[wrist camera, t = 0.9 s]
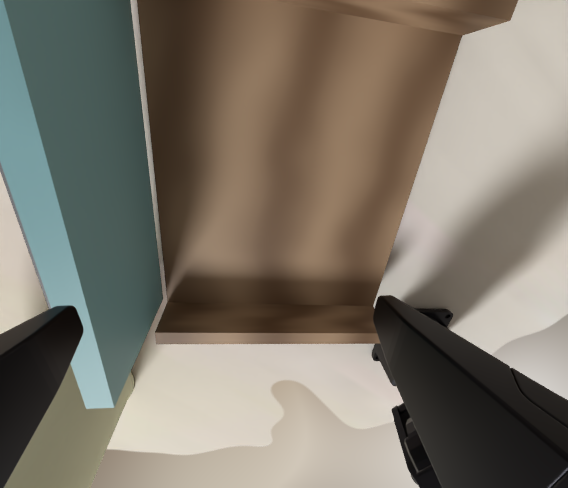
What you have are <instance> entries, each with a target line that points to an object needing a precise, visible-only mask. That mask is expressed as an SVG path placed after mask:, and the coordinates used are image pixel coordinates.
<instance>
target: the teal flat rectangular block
mask: <svg viewBox="0 0 568 488" xmlns="http://www.w3.org/2000/svg"><path fill="white" fill-rule="evenodd" d="M0 171H1V174H2V177H3V180H4V183H5V186H6V188H7V191H8V194H9V197H10V200H11V203H12V205H13V208H14V211H15V214H16V217H17V220H18V222H19V225H20V228H21V231H22V234H23V237H24V239H25V242H26V245H27V248H28V251H29V254H30V256H31V259H32V262H33V265H34V268H35V271H36V273H37V276H38V279H39V282H40V285H41V288H42V290H43V293H44V296H45V299H46V302H47V305H48V307H49V309H51V308H53V307H55V306H62V305H72V306H74V307H75V308H76V309H77V312H78V314H79V317H80V319H81V322H82V325H83V329H84V331H83V336H82V338H81V340H80V343H79V345H78V347H77V350H76V352H75V354H74V356H73V359H72V361H71V363H70V364H71V366H72V369H73V372H74V375H75V378H76V381H77V384H78V387H79V389H80V392H81V395H82V398H83V401H84V404H85V407H86V409H95V408H114V407H115V405H116V403H117V401H118V398H119V396H120V394H121V392H122V389H123V387H124V385H125V383H126V381H127V378H128V376H129V374H130V372H131V369H132V367H133V365H134V363H135V360H136V358H137V356H138V354H139V351H140V349H141V347H142V345H143V342H144V340H145V338H146V336H147V333H148V331H149V329H150V327H151V324H152V322H153V320H154V318H155V316H156V313H157V311H158V309H159V307H160V304H161V302H162V300H163V295H162V286H161V276H160V267H159V258H158V249H157V240H156V231H155V222H154V213H153V204H152V195H151V186H150V176H149V167H148V158H147V149H146V140H145V131H144V122H143V113H142V104H141V95H140V86H139V77H138V67H137V58H136V49H135V40H134V31H133V22H132V13H131V4H130V0H0Z"/></svg>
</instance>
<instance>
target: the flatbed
mask: <svg viewBox="0 0 568 488" xmlns="http://www.w3.org/2000/svg"><path fill="white" fill-rule="evenodd" d="M517 2H518V0H137V4H138V14H139V24H140V34H141V44H142V54H143V63H144V73H145V83H146V93H147V103H148V113H149V123H150V133H151V143H152V152H153V162H154V172H155V182H156V192H157V202H158V212H159V222H160V232H161V242H162V251H163V261H164V271H165V281H166V291H167V301H168V302H167V305H166V307H165V310H164V312H163V315H162V317H161V319H160V322H159V324H158V327H157V329H156V331H155V337H156V344H375V343H380V341H379V338H378V335H377V332H376V328H375V325H374V322H373V314H374V310H375V309H374V307H373V304H374V301H375V298H376V295H377V292H378V289H379V286H380V283H381V280H382V277H383V274H384V271H385V268H386V265H387V262H388V259H389V256H390V253H391V250H392V247H393V244H394V241H395V238H396V235H397V231H398V228H399V225H400V222H401V219H402V216H403V213H404V210H405V207H406V204H407V201H408V198H409V195H410V192H411V189H412V186H413V183H414V180H415V177H416V174H417V171H418V168H419V165H420V162H421V159H422V156H423V153H424V150H425V147H426V144H427V140H428V137H429V134H430V131H431V128H432V125H433V122H434V119H435V116H436V113H437V110H438V107H439V104H440V101H441V98H442V95H443V92H444V89H445V86H446V83H447V80H448V77H449V74H450V71H451V68H452V65H453V62H454V59H455V56H456V53H457V49H458V46H459V43H460V40H461V37H462V35H465V34H469V33H472V32H475V31H478V30H481V29H485V28H488V27H491V26H494V25H497V24H501V23H504V22H507V21H510V20H511V17H512V15H513V12H514V10H515V7H516V4H517Z"/></svg>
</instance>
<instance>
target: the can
mask: <svg viewBox="0 0 568 488" xmlns="http://www.w3.org/2000/svg"><path fill="white" fill-rule="evenodd" d="M133 388H134V378H133V375H132V373H131V372H130V374H129V376H128V378H127V381H126V383H125V385H124V387H123V389H122V392H121V394H120V396H119V398H118V401H117V403H116V405H115V407H114V408H95V409H86V407H85V404H84V401H83V398H82V395H81V392H80V389H79V387H78V384H77V381H76V378H75V375H74V372H73V369H72V366H71V364H70V366H69V368H68V370H67V373H66V375H65V377H64V379H63V381H62V384H61V386H60V388H59V390H58V392H57V393H56V395H55V397H54V399H53V401H52V403H51V404H50V406H49V408H48V410H47V412H46V413H45V415H44V417H43V419H42V421H41V422H40V424H39V426H38V428H37V429H36V431H35V433H34V435H33V437H32V438H31V440H30V442H29V444H28V446H27V447H26V449H25V451H24V453H23V455H22V456H21V458H20V460H19V462H18V464H17V465H16V467H15V469H14V471H13V472H12V474H11V476H10V478H9V480H8V481H7V483H6V485H5V487H4V488H90V487H91V485H92V482H93V480H94V478H95V475H96V473H97V470H98V468H99V465H100V463H101V461H102V458H103V455H104V453H105V451H106V449H107V446H108V444H109V441H110V439H111V437H112V434H113V432H114V430H115V427H116V425H117V423H118V420H119V418H120V415H121V413H122V411H123V409H124V406H125V404H126V402H127V400H128V398H129V397H130V395H131V394H132V391H133Z"/></svg>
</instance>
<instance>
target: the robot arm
mask: <svg viewBox="0 0 568 488" xmlns="http://www.w3.org/2000/svg"><path fill="white" fill-rule="evenodd" d="M452 317H453V314H452V312H451V311H450V310H446V309H414V308H412V307H410V306H409V305H407V304H405V303H404V302H402V301H400V300H399V299H397V298H395V297H394V296H391V295H387V296H379V297H378V299H377V302H376V306H375V310H374V314H373V322H374V325H375V328H376V332H377V335H378V338H379V341H380V343H375V346H374V349H373V352H372V358H373V360H374V361H380V362H381V364H382V366H383V368H384V370H385V372H386V374H387V376H388V378H389V380H390V382H391V384H392V385H393V386H397V388H398V390H399V392H400V395H401V397H402V399H403V401H404V403H403V404H401V405H399V406H395V407H394V408H392V413H393V416H394V422H395V425H396V429H397V432H398V435H399V439H400V443H401V446H402V450H403V453H404V456H405V460H406V464H407V467H408V470H409V472H410V473H411V477H412V479H413V480H414V482H415V483H416V484H418V485H419V487H420V488H568V400H567V399H565V398H563V397H561V396H559V395H557V394H556V393H554V392H552V391H550V390H549V389H547V388H545V387H544V386H542V385H540V384H538V383H537V382H535V381H533V380H531V379H530V378H528V377H527V376H525V375H523V374H522V373H520V372H518V371H517V370H515V369H513V368H510V367H509V366H508V365H507V364H505V363H503V362H501V361H500V360H498V359H497V358H495V357H493V356H492V355H490V354H488V353H487V352H485V351H483V350H482V349H480V348H478V347H477V346H475V345H473V344H472V343H470V342H468V341H467V340H465V339H463V338H462V337H460V336H458V335H457V334H455V333H454V332H452V331H450V330H449V329H448V327H447V326H448V324H449V323H450V321H451V319H452ZM83 331H84V329H83V325H82V322H81V319H80V317H79V314H78V312H77V309H76V308H75V307H74V306H72V305H62V306H55V307H53V308H51V309H49V310H47V311H45V312H43V313H41V314H39V315H37V316H35V317H33V318H31V319H29V320H28V321H26V322H24V323H22V324H20V325H18V326H16V327H14V328H12V329H10V330H8V331H6V332H4V333H2V334H0V488H4V487H5V485H6V483H7V481H8V480H9V478H10V476H11V474H12V472H13V471H14V469H15V467H16V465H17V464H18V462H19V460H20V458H21V456H22V455H23V453H24V451H25V449H26V447H27V446H28V444H29V442H30V440H31V438H32V437H33V435H34V433H35V431H36V429H37V428H38V426H39V424H40V422H41V421H42V419H43V417H44V415H45V413H46V412H47V410H48V408H49V406H50V404H51V403H52V401H53V399H54V397H55V395H56V393H57V392H58V390H59V388H60V386H61V384H62V381H63V379H64V377H65V375H66V373H67V370H68V368H69V366H70V363H71V361H72V359H73V356H74V354H75V352H76V350H77V347H78V345H79V343H80V340H81V338H82V336H83Z"/></svg>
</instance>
